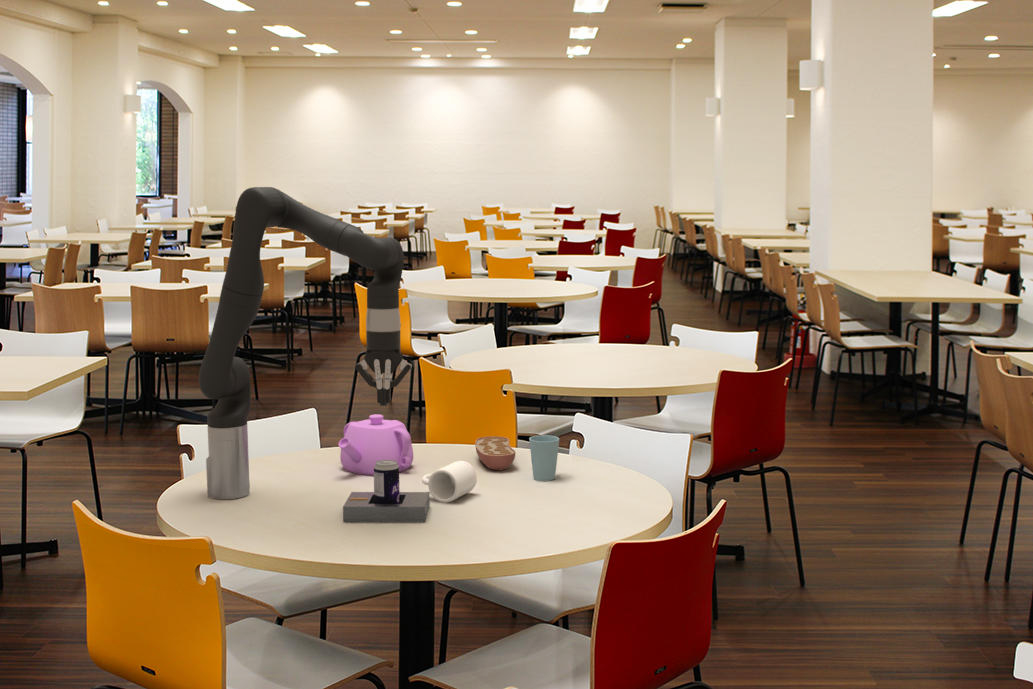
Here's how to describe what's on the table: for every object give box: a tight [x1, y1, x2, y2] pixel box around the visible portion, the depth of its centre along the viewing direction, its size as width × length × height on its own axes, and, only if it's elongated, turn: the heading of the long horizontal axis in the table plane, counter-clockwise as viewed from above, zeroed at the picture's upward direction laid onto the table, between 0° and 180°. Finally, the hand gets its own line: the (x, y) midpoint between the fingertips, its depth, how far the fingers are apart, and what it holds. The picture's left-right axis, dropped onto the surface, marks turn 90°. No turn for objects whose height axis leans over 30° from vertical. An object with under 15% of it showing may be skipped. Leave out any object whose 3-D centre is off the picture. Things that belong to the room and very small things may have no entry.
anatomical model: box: [474, 435, 516, 471], centre depth 289 cm, size 23×10×5 cm, turn 7°
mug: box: [421, 460, 478, 504], centre depth 256 cm, size 12×10×8 cm
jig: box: [342, 491, 431, 523], centre depth 241 cm, size 18×12×4 cm, turn 90°
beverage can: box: [373, 460, 401, 504], centre depth 241 cm, size 6×6×12 cm
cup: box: [528, 434, 560, 482], centre depth 272 cm, size 8×8×10 cm
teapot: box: [337, 413, 414, 477], centre depth 281 cm, size 19×21×14 cm
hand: (384, 405), depth 239 cm, fingers closed
